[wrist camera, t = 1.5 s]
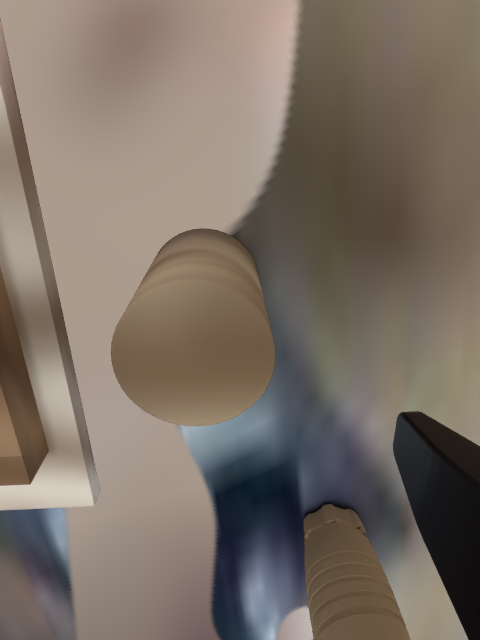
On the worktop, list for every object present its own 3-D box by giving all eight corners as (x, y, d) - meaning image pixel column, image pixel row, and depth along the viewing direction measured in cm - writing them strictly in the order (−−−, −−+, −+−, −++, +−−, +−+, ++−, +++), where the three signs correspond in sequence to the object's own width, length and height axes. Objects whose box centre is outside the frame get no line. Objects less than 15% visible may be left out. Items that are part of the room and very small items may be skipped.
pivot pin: (258, 329, 18) (274, 423, 12) (156, 332, 18) (122, 429, 12) (257, 226, 16) (276, 279, 11) (144, 230, 16) (98, 285, 10)
